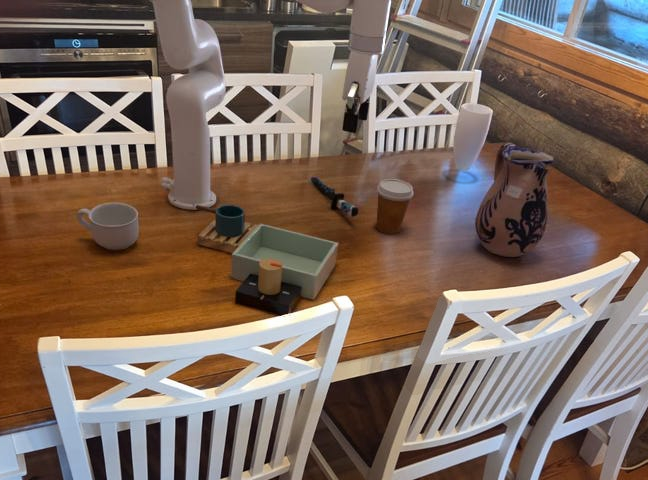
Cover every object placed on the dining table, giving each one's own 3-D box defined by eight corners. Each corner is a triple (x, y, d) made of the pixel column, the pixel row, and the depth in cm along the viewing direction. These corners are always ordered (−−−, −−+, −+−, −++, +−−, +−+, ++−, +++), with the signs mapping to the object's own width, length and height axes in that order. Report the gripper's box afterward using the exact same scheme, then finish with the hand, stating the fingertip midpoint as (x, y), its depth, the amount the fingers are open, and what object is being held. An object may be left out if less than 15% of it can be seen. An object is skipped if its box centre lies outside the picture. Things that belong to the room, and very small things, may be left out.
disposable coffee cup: (410, 226, 171) (419, 184, 163) (398, 240, 164) (407, 197, 156) (377, 216, 173) (385, 175, 166) (365, 229, 166) (372, 187, 159)
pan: (248, 227, 154) (249, 208, 151) (237, 239, 149) (237, 220, 146) (202, 216, 156) (202, 197, 153) (189, 227, 151) (189, 208, 148)
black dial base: (234, 304, 133) (234, 291, 131) (250, 283, 140) (251, 271, 138) (287, 318, 131) (288, 306, 129) (301, 297, 138) (302, 285, 136)
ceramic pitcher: (497, 270, 157) (529, 174, 141) (447, 231, 171) (471, 140, 155) (549, 260, 164) (584, 167, 148) (497, 223, 178) (524, 135, 162)
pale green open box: (231, 278, 141) (231, 254, 137) (259, 246, 154) (260, 223, 150) (313, 300, 137) (316, 276, 134) (335, 265, 150) (338, 242, 146)
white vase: (478, 184, 199) (497, 115, 186) (446, 181, 199) (462, 111, 185) (472, 171, 207) (490, 104, 194) (441, 168, 207) (457, 100, 193)
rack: (196, 246, 150) (195, 234, 148) (217, 225, 159) (217, 214, 158) (242, 258, 148) (243, 246, 146) (261, 236, 157) (262, 225, 155)
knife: (358, 224, 166) (360, 207, 163) (347, 224, 165) (349, 208, 162) (318, 187, 189) (319, 172, 187) (308, 187, 188) (310, 172, 186)
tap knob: (254, 291, 132) (255, 265, 128) (262, 280, 136) (264, 254, 132) (275, 297, 131) (277, 271, 127) (283, 286, 135) (285, 260, 131)
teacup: (149, 240, 150) (147, 209, 145) (123, 260, 142) (120, 228, 137) (98, 226, 153) (94, 195, 148) (70, 245, 145) (65, 213, 140)
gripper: (359, 32, 139) (348, 111, 150) (338, 47, 126) (328, 133, 136) (392, 38, 138) (379, 117, 148) (374, 54, 124) (361, 140, 135)
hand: (354, 125), depth 142 cm, fingers open, 9 cm apart
